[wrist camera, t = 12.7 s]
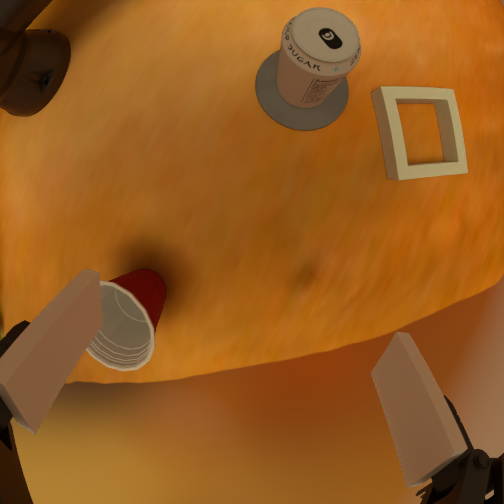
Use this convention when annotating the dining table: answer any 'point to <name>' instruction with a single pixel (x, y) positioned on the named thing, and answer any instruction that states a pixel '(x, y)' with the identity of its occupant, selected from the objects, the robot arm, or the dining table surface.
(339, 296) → the dining table surface
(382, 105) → the frame
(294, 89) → the energy drink can
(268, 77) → the coaster
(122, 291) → the plastic cup
